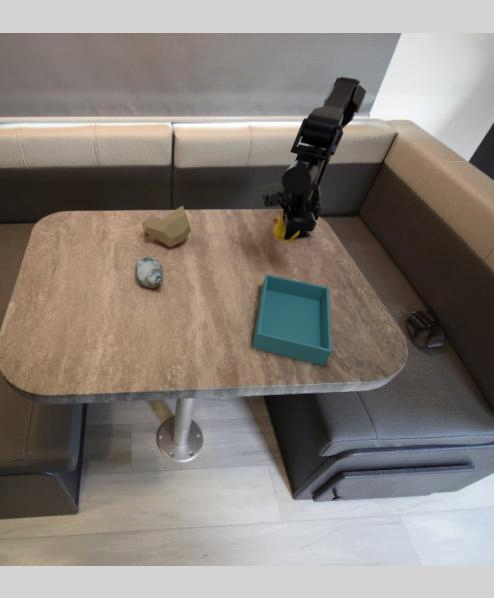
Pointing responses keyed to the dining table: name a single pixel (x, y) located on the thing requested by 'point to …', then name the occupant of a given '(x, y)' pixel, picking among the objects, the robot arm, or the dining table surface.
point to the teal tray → (294, 320)
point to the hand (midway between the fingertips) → (285, 234)
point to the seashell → (148, 272)
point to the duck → (281, 230)
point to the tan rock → (168, 227)
